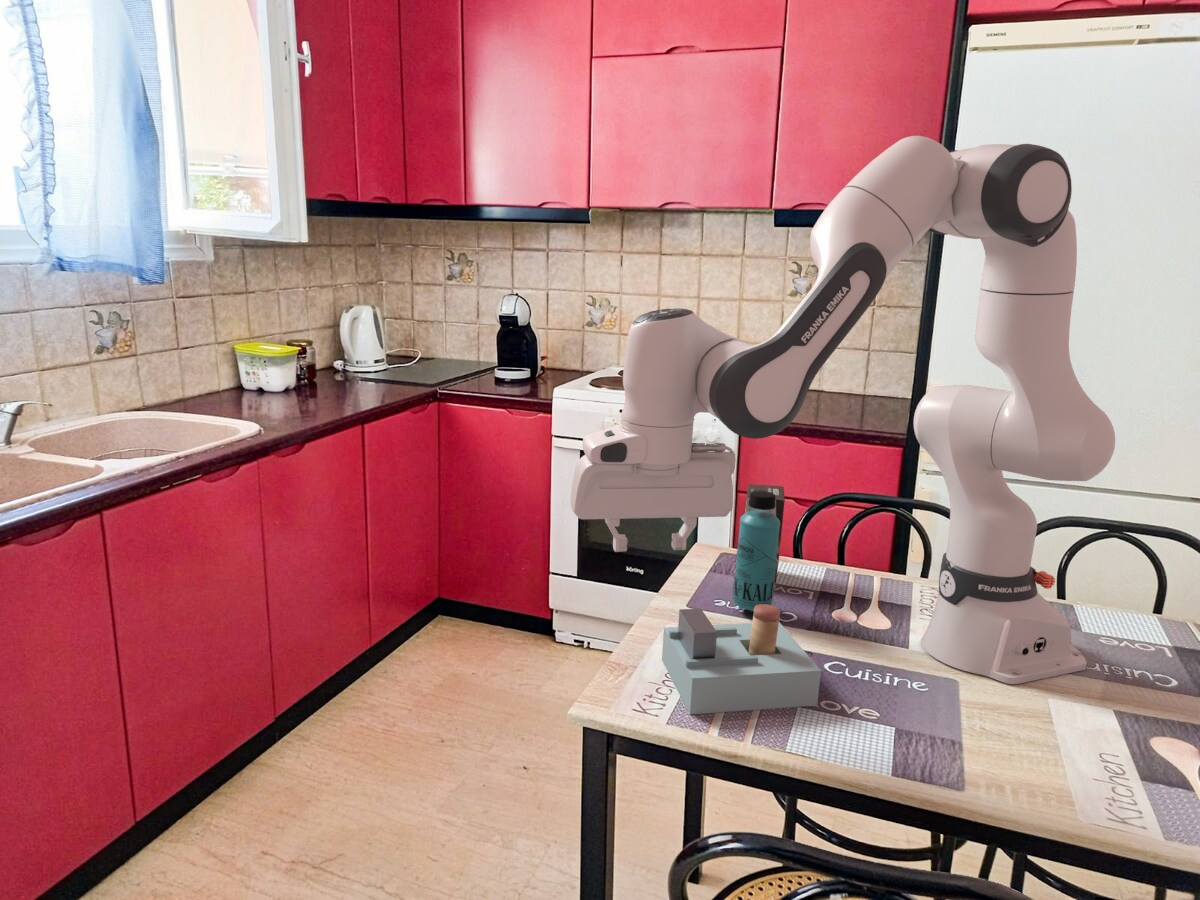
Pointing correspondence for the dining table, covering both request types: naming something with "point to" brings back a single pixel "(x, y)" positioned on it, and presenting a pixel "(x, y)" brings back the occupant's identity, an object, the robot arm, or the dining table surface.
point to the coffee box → (776, 511)
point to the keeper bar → (697, 634)
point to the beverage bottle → (756, 553)
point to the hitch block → (741, 673)
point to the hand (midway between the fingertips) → (649, 549)
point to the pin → (764, 630)
